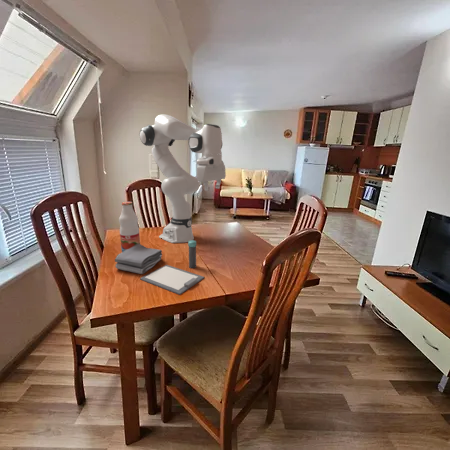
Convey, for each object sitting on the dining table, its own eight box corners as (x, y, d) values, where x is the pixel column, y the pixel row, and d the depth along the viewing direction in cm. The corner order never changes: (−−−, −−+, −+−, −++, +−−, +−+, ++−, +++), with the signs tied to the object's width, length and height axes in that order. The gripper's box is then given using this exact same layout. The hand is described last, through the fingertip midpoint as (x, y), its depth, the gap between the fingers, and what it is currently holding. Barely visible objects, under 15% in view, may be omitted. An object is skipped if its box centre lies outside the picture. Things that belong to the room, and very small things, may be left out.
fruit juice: (143, 251, 136) (139, 200, 128) (137, 258, 127) (133, 204, 119) (125, 251, 135) (120, 200, 128) (119, 258, 126) (113, 204, 119)
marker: (187, 267, 118) (186, 242, 114) (192, 264, 121) (191, 239, 117) (193, 269, 116) (192, 243, 112) (198, 266, 119) (197, 241, 116)
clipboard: (140, 279, 106) (139, 275, 105) (166, 265, 119) (166, 262, 118) (179, 294, 95) (179, 290, 94) (204, 278, 108) (204, 274, 108)
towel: (114, 271, 113) (112, 255, 111) (138, 256, 130) (137, 241, 128) (143, 276, 109) (142, 259, 107) (164, 259, 126) (163, 245, 124)
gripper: (218, 160, 128) (218, 187, 132) (194, 160, 111) (194, 191, 114) (228, 160, 125) (228, 187, 129) (206, 160, 108) (206, 192, 111)
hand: (212, 189), depth 121 cm, fingers open, 8 cm apart
